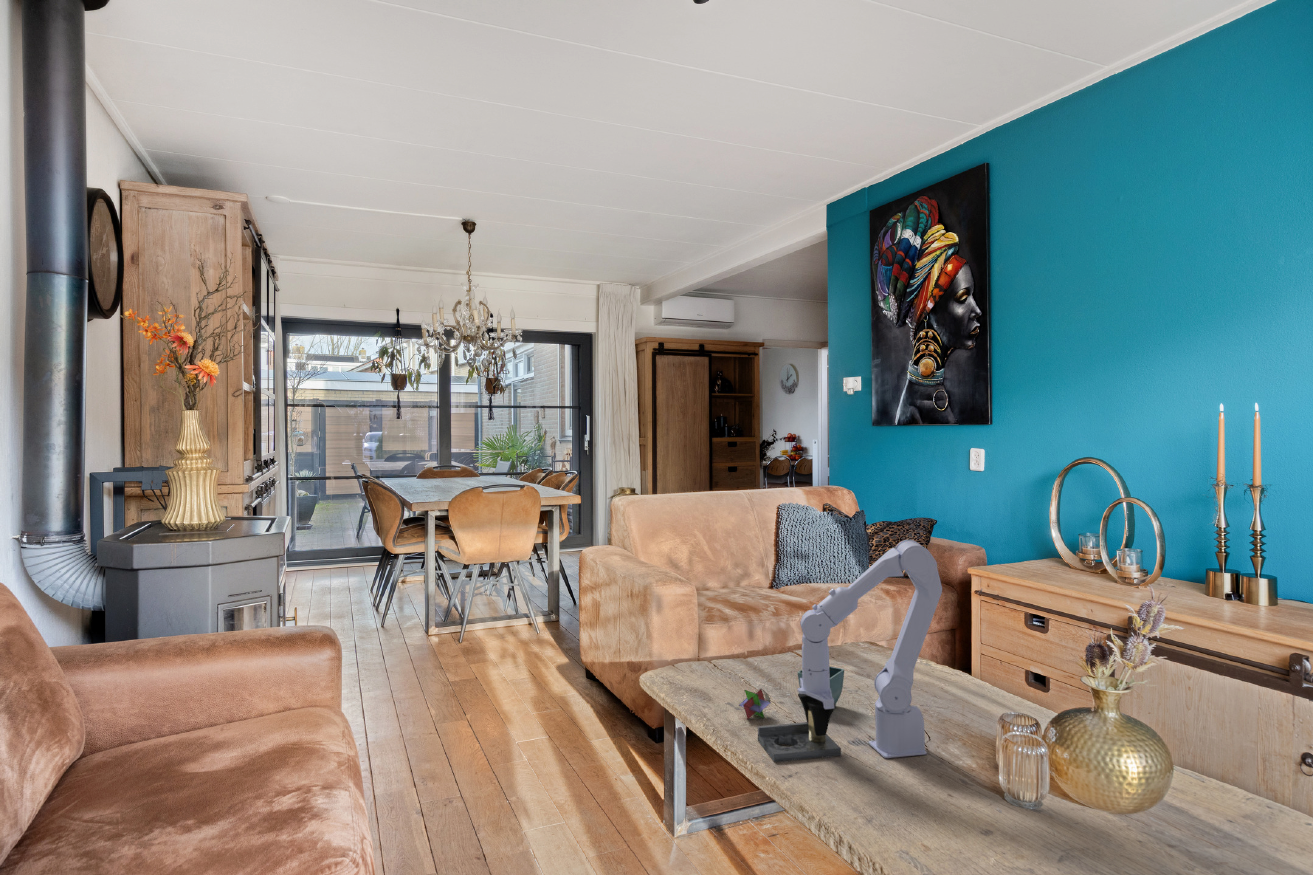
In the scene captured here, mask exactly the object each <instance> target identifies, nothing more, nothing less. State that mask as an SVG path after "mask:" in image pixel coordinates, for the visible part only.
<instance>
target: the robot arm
mask: <svg viewBox="0 0 1313 875" xmlns="http://www.w3.org/2000/svg"><path fill="white" fill-rule="evenodd" d="M902 571H904V572H905V573H906V574H907V575H908V577H909V579H910V581H911V583H912V584H913V586H914V593H913V594H912V597H911V600H910V604H909V606H908V609H907V611H906V614H905V616H904V617H905V618H904V620H903V623H902V626H901V628H900V631H899V633H898V637H897V639H896V642H895V645H894V647H893V650H892V652H891V653H892V654H891V655H890V657H889V659H887V661H885V665H884V667H883V668H882V670H880V672H878V673H877V675H876V676H875V678H874V683H873V684H874V689H875V691H876V692H877V694H878V699H876V701H875V702H874V710H875V711H874V712H875V715H874V717H875V719H874V721H875V740H869V741H868V745H869V746H871V748H873V749H874V750H875V751H876V752H877V753H879V755H881V757H883V758H885V759H890V758H891V759H892V758H894V759H895V758H900V757H901V758H902V757H903V758H904V757H911V756H912V757H913V756H922V755H923V756H924V755H927V754H928V753H927V751H926V745H925V744H926V742H925V740H926V738H925V736H926V735H925V731H926V730H925V718H924V716H923V713H922V711H921V709H920V708H919V707H918V706H917V705H914V704H913V705H911V704H912V700H913V697H912V687H913V684H914V673H915V671H914V669H915V667H916V664H917V662H918V659H919V655H920V653H921V651H922V648H923V645H924V642H925V640H926V636H927V634H928V631H929V629H930V626H931V624H932V620H933V618H934V615H935V613H936V609H937V607H938V605H939V602H940V598H941V595H942V593H943V587H942V582H941V577H940V575H939V574H940V573H939V569H938V562H937V561H936V559H935V557H934V556H933V555H932V553H931V552H930V551H929V550H928V549H927V548H926V547H925V546H922V545H921V544H920V543H919V542H917V541H915V540H913V539H905V540H901V541H900V542H899V543H897V545H896V546H895V547H892V548H889V549H888V550H887V551H886V552H885V553H884V554H883V555H882V556H881V557H880V558H878V559H877V560H876V561H875V562H874V563H873V564H872V565H871V566H869V568H868V569H866V570H865V571H864V572H863V573H862V574H861V575H860V576H859V577H857V578H856V579H855V580H854V581H853V582H852V583H851V584H850V585H849V586H846V587H844V586H838V587H837V588H831V589H830V590H829V591H828V593H829V594H828V595H827V596H826V597H825V598H824V599H823V600H821V601H820V602H819V603H818V604H816V603H814V604H813V605H812V609H808V610H806V611H805V612H804V613H803V615H802V616H801V619H800V621H799V623H800V628H801V631H802V637H801V642H802V644H801V670H802V678H800V686H799V687H798V688H796V689H797V691H796V692H797V697H798V698H799V700H800V702H801V705H802V707H803V711H804V714H805V719H806V722H807V724H808V709H810V710H811V713H812V717H813V723H814V730H815V734H816V735H817V736H822V735H826V734H827V733H828V730H829V727H828V726H829V724H830V720H831V716H832V714H833V712H834V711H835V709H836V707H837V703H836V704H835V703H834V699H833V698H832V694H831V688H830V674H829V667H830V646H829V644H828V643H829V642H828V640H829V639H828V638H829V637H830V635H831V634H830V633H831V629H832V628H836V627H837V626H838V625H839V624H841V622H843V621H844V620H846V618H847V617H848V616H850V615H851V614H852V613H853V612H854V611H856V610H857V609H858V607H859V606H858V604H859V599H861V598H862V597H863V596H865V595H866V594H868V593H869V592H871V590H873V589H874V588H875V587H876V586H878V585H879V584H881V583H882V582H883V581H885V580H886V579H887V578H891V577H892V578H893V577H904V573H903V572H902ZM800 687H801V688H800Z"/></svg>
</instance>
